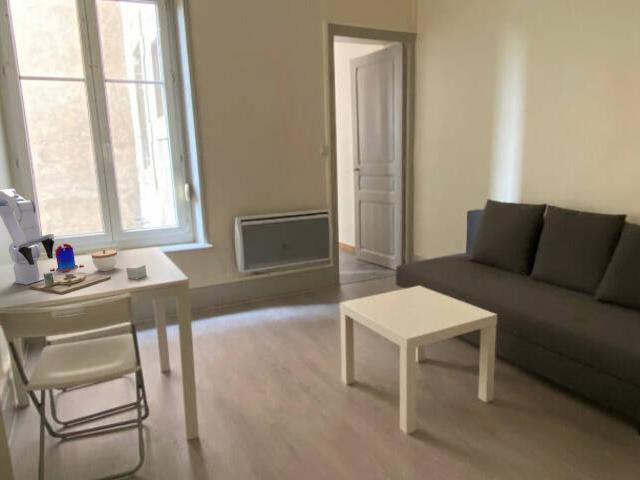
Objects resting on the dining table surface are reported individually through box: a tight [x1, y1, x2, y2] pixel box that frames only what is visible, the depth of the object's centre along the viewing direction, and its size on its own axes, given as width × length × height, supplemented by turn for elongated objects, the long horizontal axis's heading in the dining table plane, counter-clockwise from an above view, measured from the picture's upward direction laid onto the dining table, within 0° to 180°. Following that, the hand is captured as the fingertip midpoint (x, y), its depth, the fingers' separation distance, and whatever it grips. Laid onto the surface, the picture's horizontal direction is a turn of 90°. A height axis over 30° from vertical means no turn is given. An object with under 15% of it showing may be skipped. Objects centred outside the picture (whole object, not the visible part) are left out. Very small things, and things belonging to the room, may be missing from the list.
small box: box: [125, 264, 148, 280], centre depth 196 cm, size 6×6×5 cm
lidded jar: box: [90, 249, 118, 272], centre depth 211 cm, size 11×11×9 cm
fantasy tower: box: [49, 243, 85, 274], centre depth 215 cm, size 12×12×12 cm
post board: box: [27, 271, 112, 295], centre depth 191 cm, size 22×22×4 cm
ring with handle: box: [43, 271, 86, 287], centre depth 189 cm, size 15×11×5 cm
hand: (41, 261), depth 183 cm, fingers open, 7 cm apart
